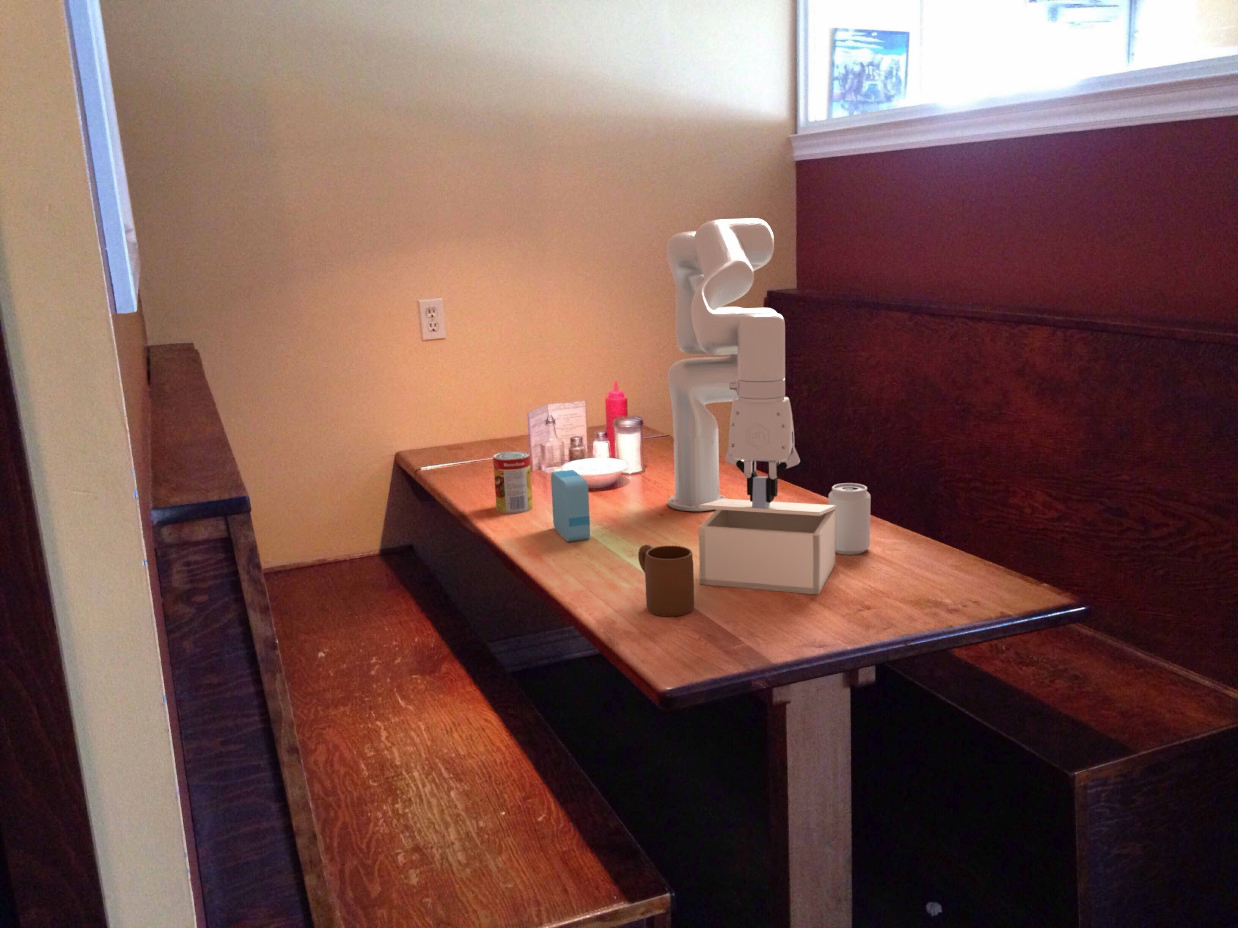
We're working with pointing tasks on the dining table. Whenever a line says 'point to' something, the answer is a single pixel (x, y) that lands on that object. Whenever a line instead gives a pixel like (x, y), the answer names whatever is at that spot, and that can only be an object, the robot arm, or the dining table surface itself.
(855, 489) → the can
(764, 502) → the flap
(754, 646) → the dining table surface
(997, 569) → the dining table surface
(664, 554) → the mug
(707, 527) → the mailer box
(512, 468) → the canned food
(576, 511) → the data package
